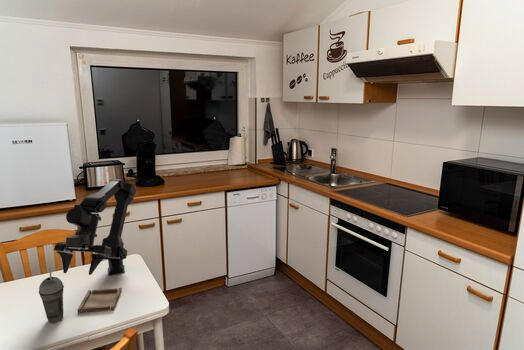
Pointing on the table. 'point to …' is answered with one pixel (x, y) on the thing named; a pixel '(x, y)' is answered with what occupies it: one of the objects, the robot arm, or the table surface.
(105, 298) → the walnut tray
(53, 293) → the beverage cup
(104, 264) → the table surface
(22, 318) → the table surface
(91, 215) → the robot arm
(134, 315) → the table surface
